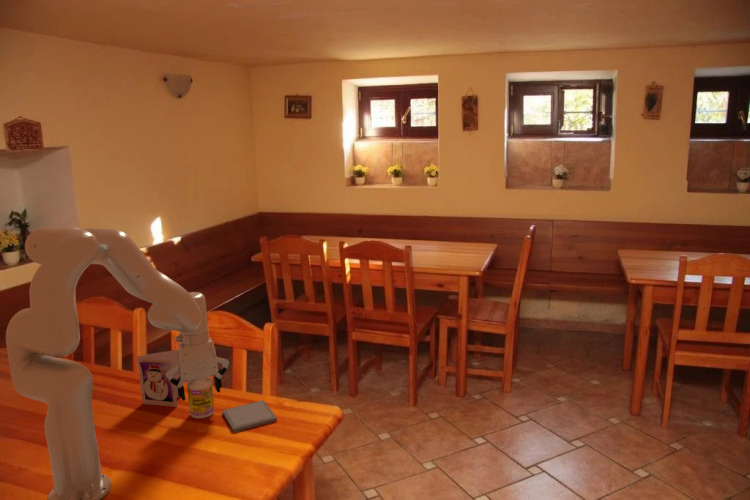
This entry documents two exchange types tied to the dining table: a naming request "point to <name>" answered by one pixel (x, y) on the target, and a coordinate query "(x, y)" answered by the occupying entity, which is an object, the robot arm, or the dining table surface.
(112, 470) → the dining table surface
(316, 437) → the dining table surface
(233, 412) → the slate trivet
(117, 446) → the dining table surface
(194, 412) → the supplement bottle
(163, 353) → the greeting card
